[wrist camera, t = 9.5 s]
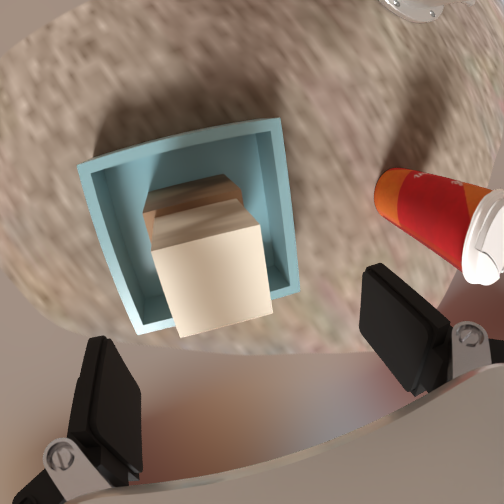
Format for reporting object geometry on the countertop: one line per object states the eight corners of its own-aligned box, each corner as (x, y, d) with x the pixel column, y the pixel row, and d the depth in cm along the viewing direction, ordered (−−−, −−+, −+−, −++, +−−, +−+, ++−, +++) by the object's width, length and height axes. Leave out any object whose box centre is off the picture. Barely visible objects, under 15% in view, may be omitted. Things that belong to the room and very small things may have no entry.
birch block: (236, 198, 18) (260, 224, 14) (248, 270, 21) (272, 312, 16) (154, 218, 17) (150, 251, 13) (175, 289, 20) (180, 337, 15)
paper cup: (427, 194, 30) (527, 239, 18) (386, 242, 31) (482, 308, 19) (398, 140, 27) (516, 170, 15) (351, 192, 28) (465, 249, 15)
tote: (260, 118, 23) (280, 117, 19) (281, 267, 29) (300, 291, 25) (92, 157, 21) (76, 165, 17) (139, 304, 27) (137, 335, 23)
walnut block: (223, 173, 23) (241, 189, 18) (236, 243, 26) (255, 275, 21) (148, 191, 22) (142, 213, 17) (167, 260, 25) (168, 298, 20)
